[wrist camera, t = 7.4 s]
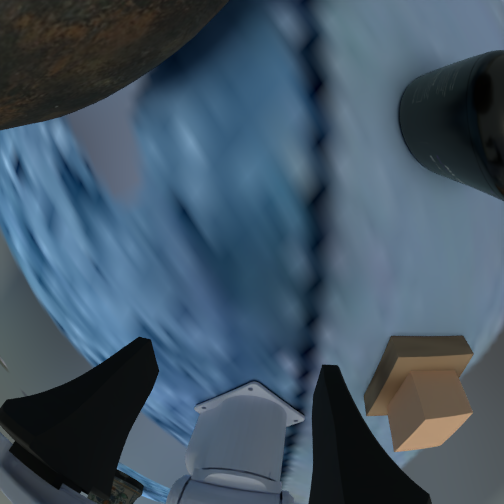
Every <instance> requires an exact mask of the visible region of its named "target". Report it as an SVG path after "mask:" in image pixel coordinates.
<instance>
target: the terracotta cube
mask: <svg viewBox="0 0 504 504" xmlns="http://www.w3.org/2000/svg"><path fill="white" fill-rule="evenodd" d="M386 408H387V413H388V418H389V424H390V429H391V435H392V441H393V448H394V452H399V451H408V450H416V449H423V448H429V447H435V446H440V445H442V444H443V442H445V441H446V440H447V439H448V438H449V437H450V436H451V435H452V434H453V433H454V432H455V431H456V430H457V429H458V428H459V427H460V426H461V425H462V424H463V423H464V422H465V421H466V420H467V418H468V417H469V416H470V415H471V414H472V413H473V411H472V409H471V406H470V404H469V401H468V399H467V397H466V394H465V392H464V389H463V387H462V385H461V382H460V380H459V378H458V376H457V373H456V371H455V370H444V371H410V373H409V374H408V376H407V377H406V379H405V381H404V382H403V384H402V385H401V387H400V388H399V390H398V391H397V393H396V394H395V396H394V397H393V399H392V400H391V401H390V403H389V404H388V406H387V407H386Z"/></svg>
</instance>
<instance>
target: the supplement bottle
mask: <svg viewBox="0 0 504 504" xmlns="http://www.w3.org/2000/svg"><path fill="white" fill-rule="evenodd" d="M400 123H401V129H402V133H403V136H404V139H405V141H406V143H407V145H408V147H409V149H410V151H411V152H412V154H413V155H414V156H415V158H416V159H417V160H418V161H419V162H420V163H421V164H422V165H423V166H425V167H426V168H427V169H429V170H431V171H432V172H434V173H436V174H439V175H442V176H444V177H447V178H449V179H452V180H455V181H457V182H460V183H462V184H465V185H467V186H470V187H472V188H475V189H477V190H480V191H482V192H484V193H487V194H489V195H491V196H493V197H495V198H498V199H500V200H502V201H504V50H496V51H491V52H487V53H484V54H480V55H477V56H474V57H471V58H468V59H465V60H462V61H459V62H456V63H453V64H450V65H448V66H445V67H442V68H439V69H437V70H434V71H431V72H429V73H426V74H424V75H422V76H420V77H418V78H417V79H415V80H414V81H413V82H412V83H411V84H410V85H409V86H408V87H407V89H406V91H405V93H404V95H403V98H402V101H401V106H400Z"/></svg>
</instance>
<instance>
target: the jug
mask: <svg viewBox="0 0 504 504" xmlns="http://www.w3.org/2000/svg"><path fill="white" fill-rule="evenodd" d="M228 1H229V0H0V130H4V129H9V128H14V127H18V126H23V125H28V124H33V123H38V122H43V121H47V120H51V119H54V118H58V117H62V116H64V115H67V114H70V113H73V112H75V111H77V110H80V109H82V108H85V107H87V106H89V105H91V104H94V103H96V102H98V101H100V100H102V99H104V98H106V97H108V96H110V95H111V94H113V93H115V92H117V91H118V90H120V89H122V88H124V87H125V86H127V85H129V84H130V83H132V82H134V81H135V80H137V79H138V78H140V77H141V76H143V75H144V74H146V73H147V72H149V71H150V70H152V69H153V68H155V67H157V66H158V65H159V64H161V63H162V62H163V61H165V60H166V59H167V58H169V57H170V56H171V55H173V54H174V53H175V52H177V51H178V50H179V49H180V48H181V47H183V46H184V45H185V44H186V43H187V42H189V41H190V40H191V39H192V38H193V37H195V36H196V35H197V33H198V32H199V31H200V30H201V29H202V28H203V27H204V26H205V25H206V24H207V23H208V22H209V21H210V20H211V19H212V18H213V17H214V16H215V15H216V14H217V13H218V12H219V11H220V10H221V9H222V8H223V7H224V6H225V5H226V4H227V3H228Z"/></svg>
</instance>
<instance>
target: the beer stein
mask: <svg viewBox="0 0 504 504" xmlns="http://www.w3.org/2000/svg"><path fill="white" fill-rule="evenodd" d="M142 492H143V485H142V484H141V483H140V482H138V481H137V480H135V479H133V478H132V477H130V476H128V475H127V474H125V473H123V472H121V471H119V470H117V469H116V473H115V477H114V481H113V486H112V490H111V496H110V498H109V499H106V500H103V499H101V498H99V497H97V496H95V495H93V494H91V493H89V494H88V497H87V498H88V499H90V500H92V501H94V502H95V503H97V504H133V503H134V502H135V500H136V499H137V498H138V497H140V496H141V495H142Z"/></svg>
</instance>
